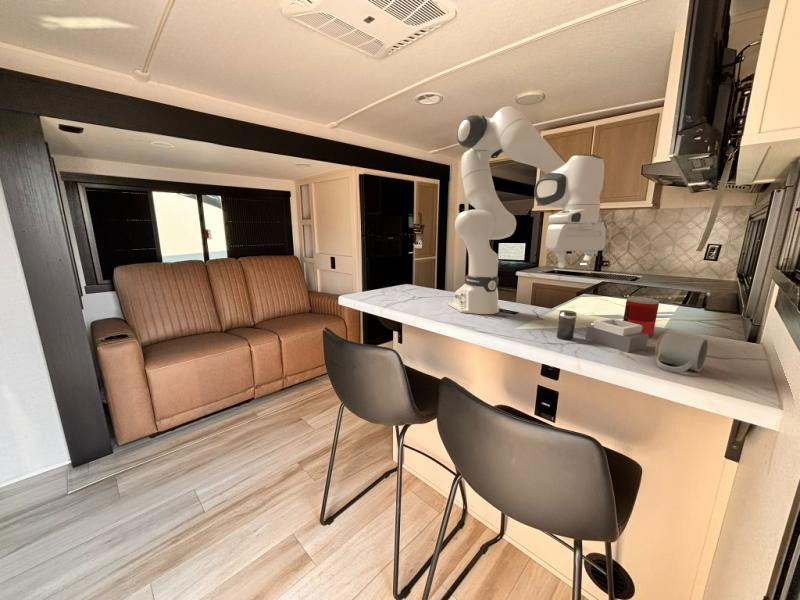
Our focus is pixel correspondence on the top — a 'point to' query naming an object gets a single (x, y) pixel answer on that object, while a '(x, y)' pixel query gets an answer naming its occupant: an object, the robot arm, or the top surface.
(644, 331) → the canned food
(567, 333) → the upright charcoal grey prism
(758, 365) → the top surface
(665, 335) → the ceramic mug
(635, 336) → the grey tissue box
